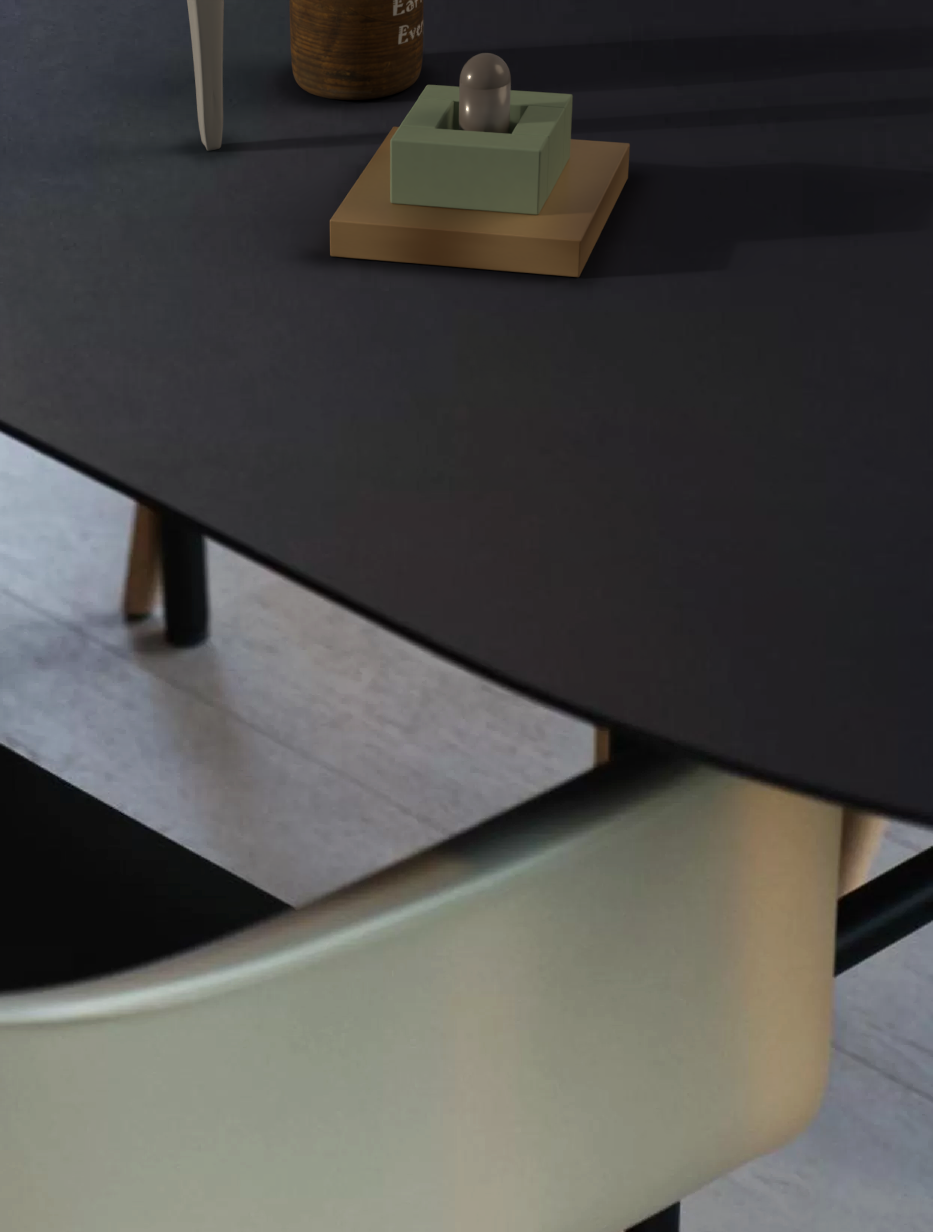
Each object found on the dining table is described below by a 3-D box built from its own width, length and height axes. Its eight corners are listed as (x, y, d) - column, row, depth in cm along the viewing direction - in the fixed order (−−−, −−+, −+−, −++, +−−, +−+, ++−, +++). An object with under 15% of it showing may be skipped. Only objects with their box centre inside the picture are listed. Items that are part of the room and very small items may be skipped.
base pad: (628, 178, 111) (637, 18, 107) (579, 277, 104) (587, 109, 100) (393, 160, 114) (393, 3, 110) (329, 256, 107) (327, 92, 103)
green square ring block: (570, 157, 110) (572, 93, 108) (538, 215, 105) (541, 150, 104) (426, 147, 111) (426, 83, 109) (389, 203, 107) (389, 138, 105)
